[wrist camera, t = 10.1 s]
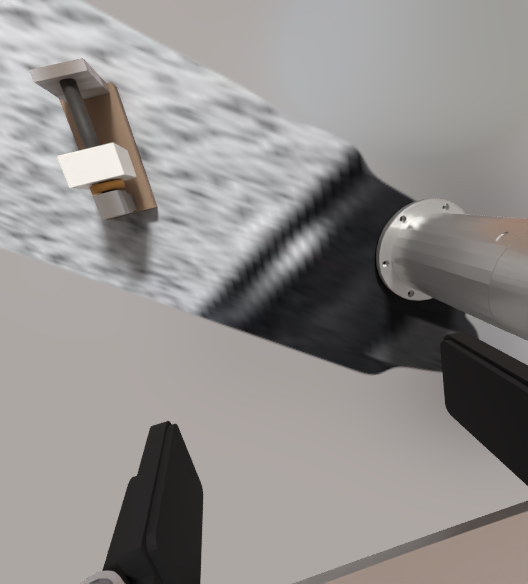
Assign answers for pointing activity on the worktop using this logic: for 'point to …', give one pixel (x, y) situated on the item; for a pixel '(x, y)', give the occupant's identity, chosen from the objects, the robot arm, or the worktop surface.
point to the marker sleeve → (96, 165)
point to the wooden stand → (99, 131)
